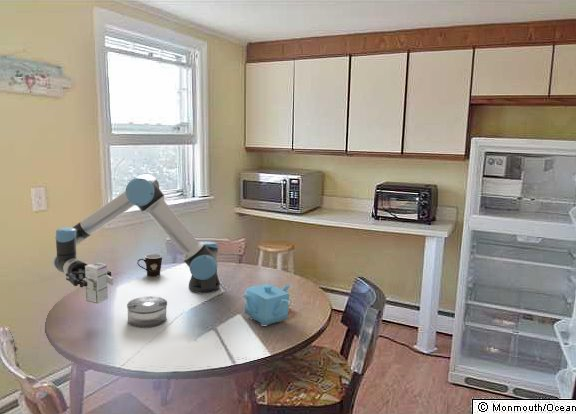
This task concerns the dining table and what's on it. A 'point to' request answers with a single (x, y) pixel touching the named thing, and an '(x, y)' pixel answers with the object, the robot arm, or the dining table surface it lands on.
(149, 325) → the cookie tin
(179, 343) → the dining table surface
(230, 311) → the dining table surface
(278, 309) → the teakettle
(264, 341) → the dining table surface
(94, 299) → the syrup box
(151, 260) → the coffee mug
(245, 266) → the dining table surface
